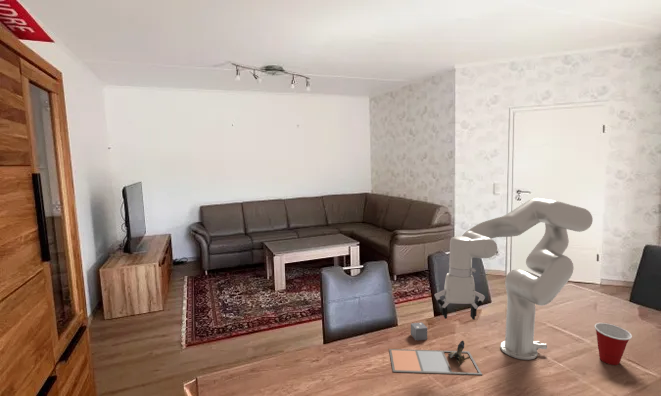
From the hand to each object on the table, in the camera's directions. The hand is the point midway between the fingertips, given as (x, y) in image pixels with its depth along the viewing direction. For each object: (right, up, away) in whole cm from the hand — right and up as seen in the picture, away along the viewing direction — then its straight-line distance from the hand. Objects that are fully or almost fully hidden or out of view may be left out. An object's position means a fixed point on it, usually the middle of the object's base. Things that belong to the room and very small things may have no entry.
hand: (458, 317), depth 131 cm
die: (-10, -15, +19) cm, 26 cm away
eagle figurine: (+1, -17, +2) cm, 17 cm away
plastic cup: (+55, -16, +1) cm, 58 cm away
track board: (-9, -17, +1) cm, 19 cm away
